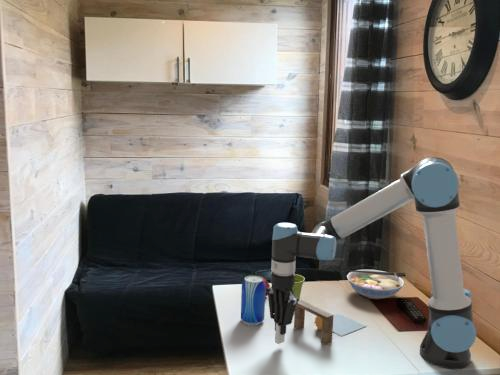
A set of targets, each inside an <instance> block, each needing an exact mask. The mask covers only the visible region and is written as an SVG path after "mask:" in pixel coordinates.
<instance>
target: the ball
mask: <svg viewBox="0 0 500 375" xmlns="http://www.w3.org/2000/svg"><path fill="white" fill-rule="evenodd" d="M314 322H315V323H314V325H315V327H316V328H317V329H319V330H320V331H322V318H320V317H318V316H316V315H315V318H314Z"/></svg>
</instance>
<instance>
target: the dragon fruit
mask: <svg viewBox="0 0 500 375" xmlns="http://www.w3.org/2000/svg"><path fill="white" fill-rule="evenodd" d="M261 277H262V276H261ZM262 278H263V281H264V283H265V285H266V288H270V287H271V286H270V283H269V281H268V280H266V279H265V277H262ZM266 288H265V297H268V294H267V291H266Z"/></svg>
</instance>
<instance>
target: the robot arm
mask: <svg viewBox="0 0 500 375" xmlns="http://www.w3.org/2000/svg"><path fill="white" fill-rule="evenodd" d="M459 197H460V196H459V177H458V175H457V173H456V171H455V168H453V166H452V165H451V163H450V162H449V161H448V160H446V159H444V158H442V157H438V156H431V157H426V158H425V159H422V160H420V161H419V162H418V163H417V164H415V165H414V166H412V167H411V168H410V169H408V170H407V171H405V172H403V173H401V174H400V177H399V179H398V180H395V181H394V182H392V183H390V184H388V185H387V186H386V187H383V188H382V189H380V190H378V191H377V192H375V193H373V194H371V195H369V196H367V197H366V198H365V199H364V198H363V199H362V200H360V201H359V202H357V203H355V204H354V205H352V206H350V207H348V208H346V209H345V210H343V211H342V212H339V213H338V214H336V215H334V216H332V217H331V218H329V219H327V220H326V221H325V220H324V221H321V222H319V223H318V224H316V225H315V227H313V229H312V231H311V232H302V231H299V230H298V226H297V225H296V223H291V222H279V223H276V224H275V225H274V226H273V229H272V230H273V231H272V238H271V240H272V242H271V243H272V245H271V268H270V271H271V272H270V284H271V286H270V288H266V291H267V294H268V295H267V297H268V307H269V315H270V316H269V317H270V319H271V320H272V319H273V321H274V331H275V332H274V333H275V335H274V342H275V343H276V344H277V345H281V344H282V343H285V340H286V339H285V338H286V337H285V336H286V334H287V326H288V325H291V324H292V323H293V320H294V315H295V307H296V304H297V303H298V301H300V299H298V298H295V297H294V296H293V290H292V287H293V285H294V283H295V272H296V262H297V261H296V260H297V259H296V258H297V257H300V258H301V257H302V258H307V259H308V258H309V259H312V260H313V259H315V260H320V261H333V260H334V259H335V256H336V251H337V242H339V241H340V240H342V239H344V238H346V237H348V236H350V235H351V234H354V233H355V232H357V231H359V230H361V229H363V228H364V227H366V226H369V225H370V224H372V223H373V222H375V221H378V220H379V219H382V218H383V217H385V216H387V215H388V214H390V213H392V212H393V211H396V210H398V209H400V208H402V207H403V206H405V205H406V204H408V203H410V202H413V201H414V205H415V212H417V213H418V214H420V216H421V217H422V223H423V224H422V225H423V230H424V240H425V246H426V247H425V248H426V253H427V254H426V255H427V262H428V270H429V278H430V285H431V293H430V296H431V297H430V298H429V299H428V300H427V301H428V302H427V304H428V312H429V315H428V325H427V331H426V333H425V334H424V336H423V339H422V340H421V343H420V345H419V354H420V357H421V358H422V359H424V360H425V361H426V362H428V363H429V364H431V365H435V366H437V367H441V368H445V369H450V370H451V369H452V370H455V369H456V370H458V369H464V368H467V367H468V366H469V365H470V364H471V360H472V359H471V358H472V355H471V351H470V348H471V347H473V345H474V344H475V342H476V340H477V329H476V326H475V321H474V313H473V305H472V301H473V298H472V292H471V291H470V290H469V289H466V288H465V286H464V285H465V284H464V277H463V270H462V268H463V267H462V262H461V261H462V260H461V252H460V244H459V238H458V228H457V222H456V212H457V211H458V210H459V208H461V205H460V198H459Z"/></svg>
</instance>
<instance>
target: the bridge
mask: <svg viewBox="0 0 500 375" xmlns="http://www.w3.org/2000/svg"><path fill="white" fill-rule="evenodd" d="M306 312H308V313H310V314H311V315H314V316H315V317H316V316H318V317H320V318H322V330H321V338H320V343H321V344H323V345H324V346H327V345H329V344H331V343H333V332H332V331H333V316H334V315H335V314H332V313H330V312H328V311H326V310H324V309H321V308H319V307H318V306H315V305H313V304H311V303H309V302H306V301H305V300H303V299H299V301H298V303H297V304H296V307H295V311H294V315H293V321H294V322H293V329H294V330H297V331H299V330H302V329H305V315H306Z"/></svg>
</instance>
